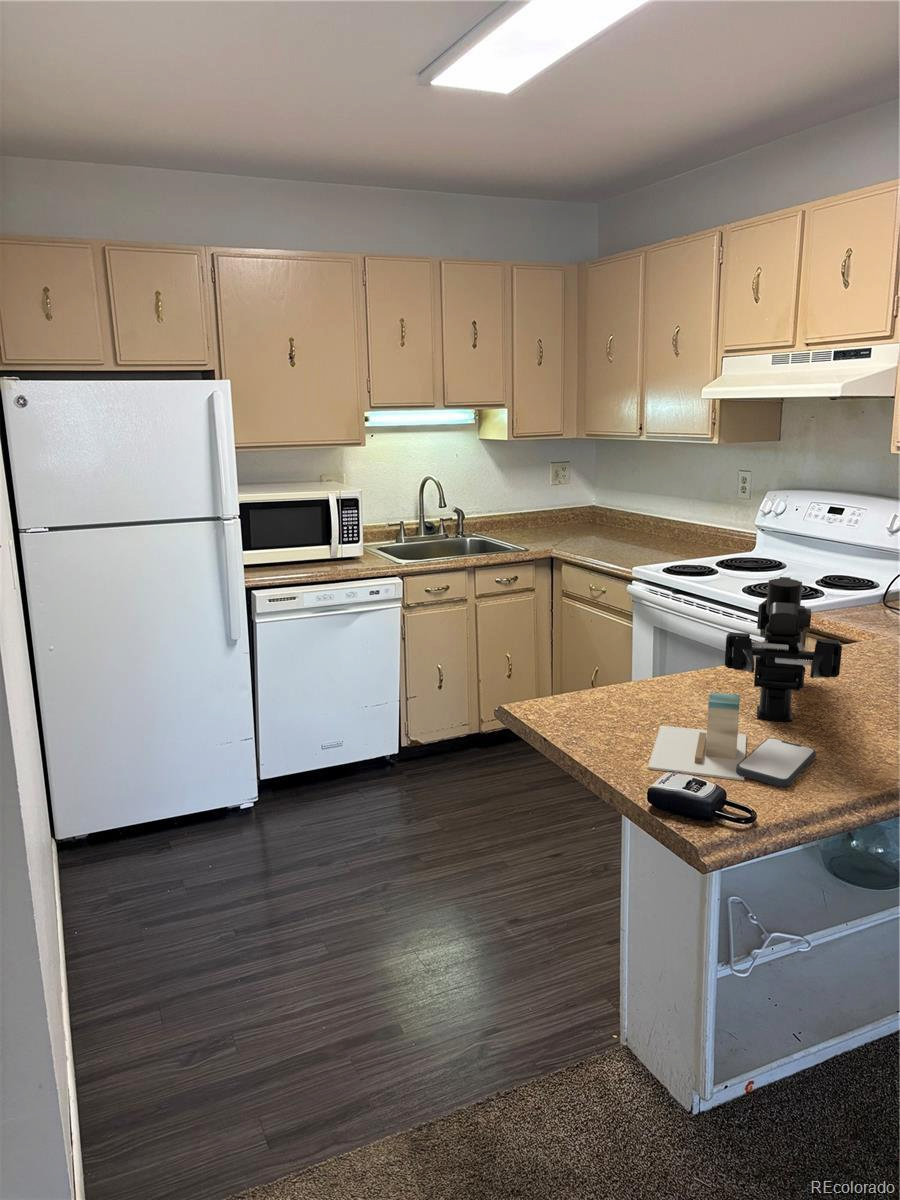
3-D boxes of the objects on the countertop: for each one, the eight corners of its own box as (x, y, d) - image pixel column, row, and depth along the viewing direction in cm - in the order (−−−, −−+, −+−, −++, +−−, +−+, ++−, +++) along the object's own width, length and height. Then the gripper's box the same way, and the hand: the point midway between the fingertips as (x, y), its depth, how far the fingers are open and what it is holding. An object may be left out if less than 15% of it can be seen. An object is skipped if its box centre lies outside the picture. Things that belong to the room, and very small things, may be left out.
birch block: (707, 745, 154) (710, 692, 152) (736, 748, 152) (740, 695, 150) (705, 756, 149) (708, 701, 147) (735, 759, 148) (739, 704, 145)
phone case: (786, 790, 137) (817, 757, 149) (787, 781, 136) (818, 749, 148) (732, 775, 142) (766, 744, 154) (733, 766, 142) (767, 736, 154)
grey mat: (660, 727, 164) (660, 720, 164) (746, 736, 159) (746, 729, 158) (647, 768, 146) (647, 761, 145) (744, 780, 140) (744, 772, 140)
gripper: (730, 594, 157) (725, 622, 143) (841, 601, 150) (848, 631, 137) (726, 651, 160) (722, 684, 146) (835, 660, 154) (842, 695, 140)
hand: (782, 672), depth 142 cm, fingers open, 9 cm apart
